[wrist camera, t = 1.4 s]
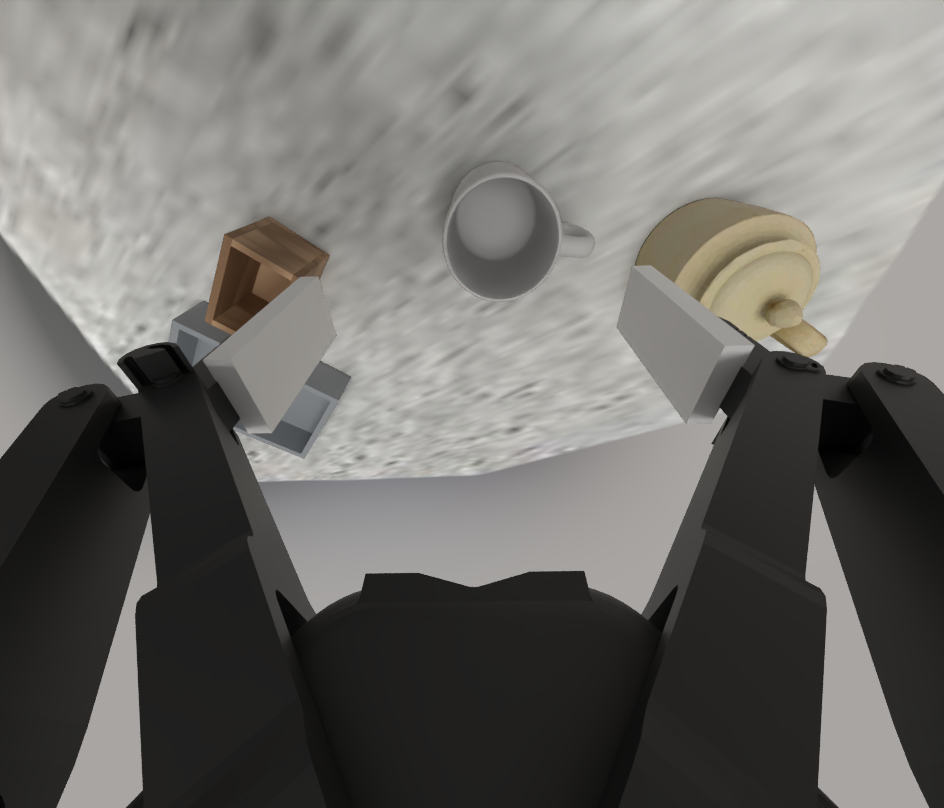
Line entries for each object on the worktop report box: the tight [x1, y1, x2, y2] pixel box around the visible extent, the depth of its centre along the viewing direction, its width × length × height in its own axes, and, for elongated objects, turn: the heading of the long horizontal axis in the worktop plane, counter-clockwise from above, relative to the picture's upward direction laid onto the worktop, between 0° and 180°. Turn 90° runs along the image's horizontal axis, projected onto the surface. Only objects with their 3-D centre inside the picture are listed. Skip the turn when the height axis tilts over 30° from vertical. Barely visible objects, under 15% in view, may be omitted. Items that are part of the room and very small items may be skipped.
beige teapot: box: [635, 198, 828, 357], centre depth 29 cm, size 15×11×15 cm
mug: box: [443, 161, 595, 302], centre depth 28 cm, size 12×8×11 cm
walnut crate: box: [205, 217, 330, 335], centre depth 33 cm, size 6×9×8 cm, turn 145°
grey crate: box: [169, 301, 351, 459], centre depth 42 cm, size 17×12×5 cm
